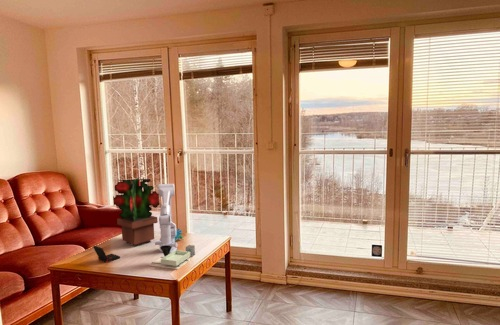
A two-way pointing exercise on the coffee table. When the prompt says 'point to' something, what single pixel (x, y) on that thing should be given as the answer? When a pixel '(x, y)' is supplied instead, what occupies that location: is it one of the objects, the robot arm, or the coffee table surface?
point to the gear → (178, 235)
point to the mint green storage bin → (175, 258)
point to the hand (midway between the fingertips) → (166, 257)
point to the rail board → (158, 264)
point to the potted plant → (136, 210)
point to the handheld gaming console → (103, 256)
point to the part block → (191, 250)
